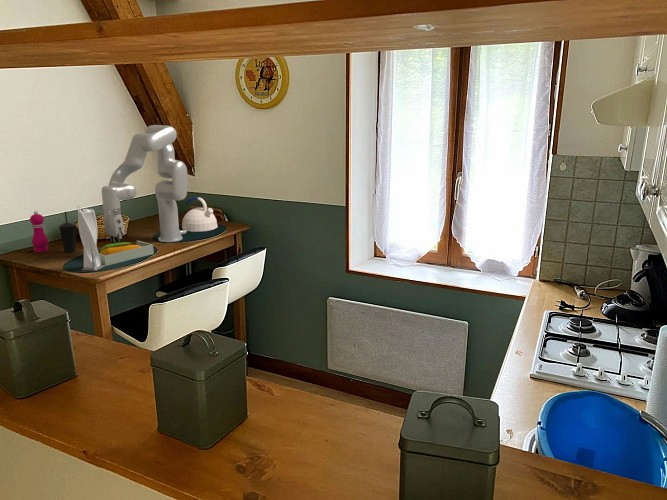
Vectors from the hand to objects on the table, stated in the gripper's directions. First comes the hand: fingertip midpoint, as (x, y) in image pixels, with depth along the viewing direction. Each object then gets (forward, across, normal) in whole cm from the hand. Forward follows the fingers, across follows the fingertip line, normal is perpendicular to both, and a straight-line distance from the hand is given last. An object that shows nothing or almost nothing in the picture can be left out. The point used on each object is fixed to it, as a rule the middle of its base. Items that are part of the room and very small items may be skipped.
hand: (115, 249), depth 269 cm
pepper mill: (+3, +36, +19) cm, 41 cm away
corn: (+3, -6, 0) cm, 7 cm away
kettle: (+3, +15, -62) cm, 64 cm away
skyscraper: (+3, -10, +18) cm, 20 cm away
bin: (+3, -6, 0) cm, 6 cm away
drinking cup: (+3, +23, +11) cm, 26 cm away
